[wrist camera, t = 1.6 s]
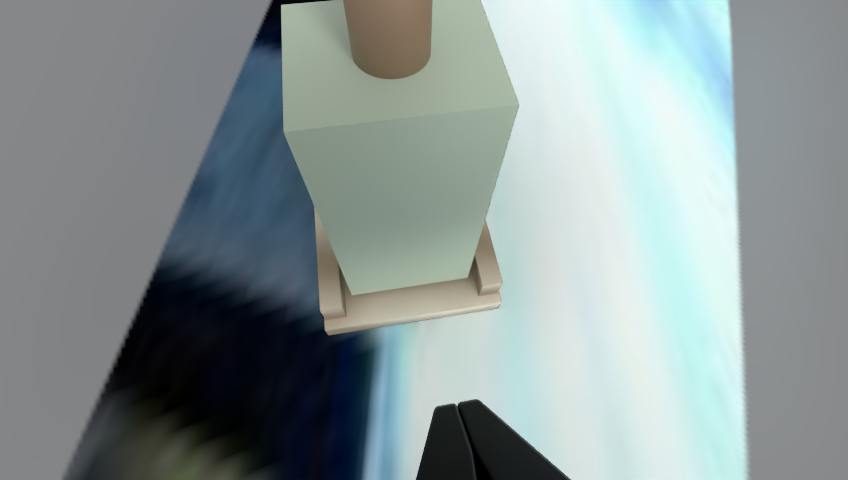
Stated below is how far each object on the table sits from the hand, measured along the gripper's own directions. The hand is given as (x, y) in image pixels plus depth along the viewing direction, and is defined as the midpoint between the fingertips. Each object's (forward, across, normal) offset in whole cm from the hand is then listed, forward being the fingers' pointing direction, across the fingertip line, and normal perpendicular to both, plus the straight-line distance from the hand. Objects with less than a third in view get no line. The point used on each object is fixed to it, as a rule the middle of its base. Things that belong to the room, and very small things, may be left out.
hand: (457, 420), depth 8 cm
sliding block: (+15, 0, +1) cm, 15 cm away
